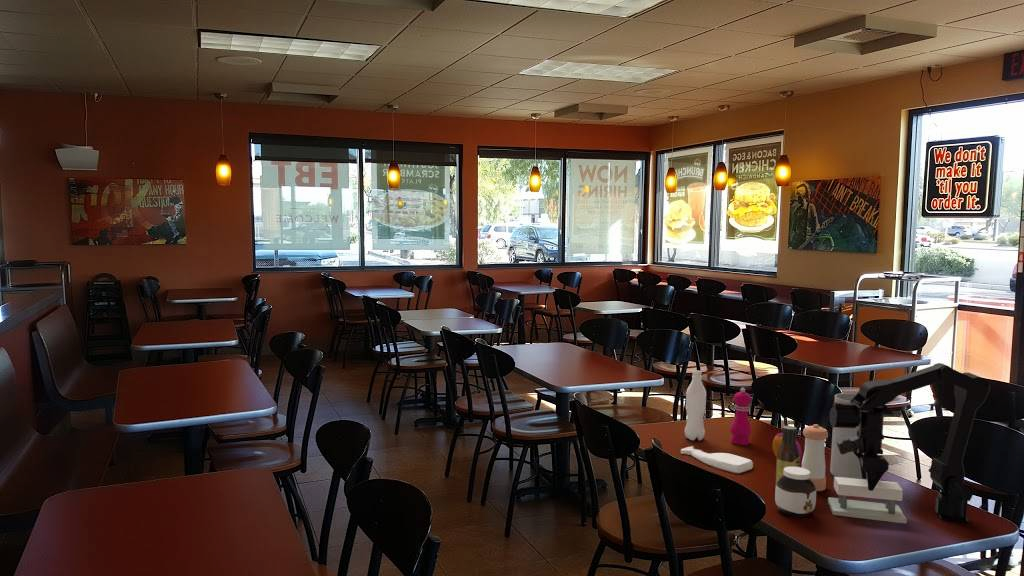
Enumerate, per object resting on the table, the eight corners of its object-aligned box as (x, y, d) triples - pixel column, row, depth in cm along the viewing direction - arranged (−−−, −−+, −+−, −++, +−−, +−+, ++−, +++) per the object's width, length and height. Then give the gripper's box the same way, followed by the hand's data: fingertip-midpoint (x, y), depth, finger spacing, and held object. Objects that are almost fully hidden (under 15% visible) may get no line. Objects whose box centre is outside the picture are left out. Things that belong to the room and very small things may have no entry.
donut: (794, 459, 245) (795, 430, 244) (802, 468, 236) (804, 438, 235) (770, 458, 246) (771, 429, 245) (777, 467, 236) (778, 437, 235)
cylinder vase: (851, 467, 238) (856, 392, 235) (883, 480, 226) (888, 401, 223) (821, 471, 233) (825, 394, 231) (851, 485, 222) (856, 404, 219)
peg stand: (897, 509, 203) (899, 491, 203) (906, 523, 194) (907, 504, 193) (827, 501, 208) (829, 483, 208) (832, 514, 199) (834, 496, 198)
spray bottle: (736, 475, 229) (673, 456, 248) (756, 468, 236) (693, 450, 255) (736, 466, 229) (674, 447, 248) (756, 460, 236) (694, 442, 255)
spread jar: (787, 519, 196) (790, 477, 194) (762, 503, 206) (764, 463, 205) (825, 514, 199) (828, 473, 198) (798, 499, 210) (800, 459, 209)
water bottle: (707, 438, 267) (710, 370, 265) (700, 442, 261) (703, 374, 259) (688, 434, 271) (690, 368, 269) (681, 439, 265) (684, 371, 263)
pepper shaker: (801, 480, 225) (805, 419, 223) (827, 485, 221) (830, 423, 219) (797, 488, 219) (800, 425, 217) (823, 493, 215) (827, 429, 213)
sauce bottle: (799, 499, 210) (803, 431, 208) (776, 497, 211) (780, 430, 209) (795, 491, 216) (799, 425, 214) (773, 489, 217) (776, 423, 215)
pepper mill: (725, 440, 265) (728, 386, 263) (742, 438, 267) (745, 384, 265) (737, 446, 258) (740, 390, 256) (755, 444, 260) (757, 389, 258)
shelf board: (895, 492, 202) (896, 482, 201) (902, 500, 196) (902, 490, 196) (833, 486, 205) (834, 476, 205) (837, 494, 200) (838, 484, 199)
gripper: (834, 417, 210) (830, 470, 212) (844, 435, 192) (840, 493, 194) (876, 421, 207) (873, 474, 208) (890, 439, 189) (886, 498, 191)
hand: (867, 484), depth 200 cm, fingers open, 9 cm apart
